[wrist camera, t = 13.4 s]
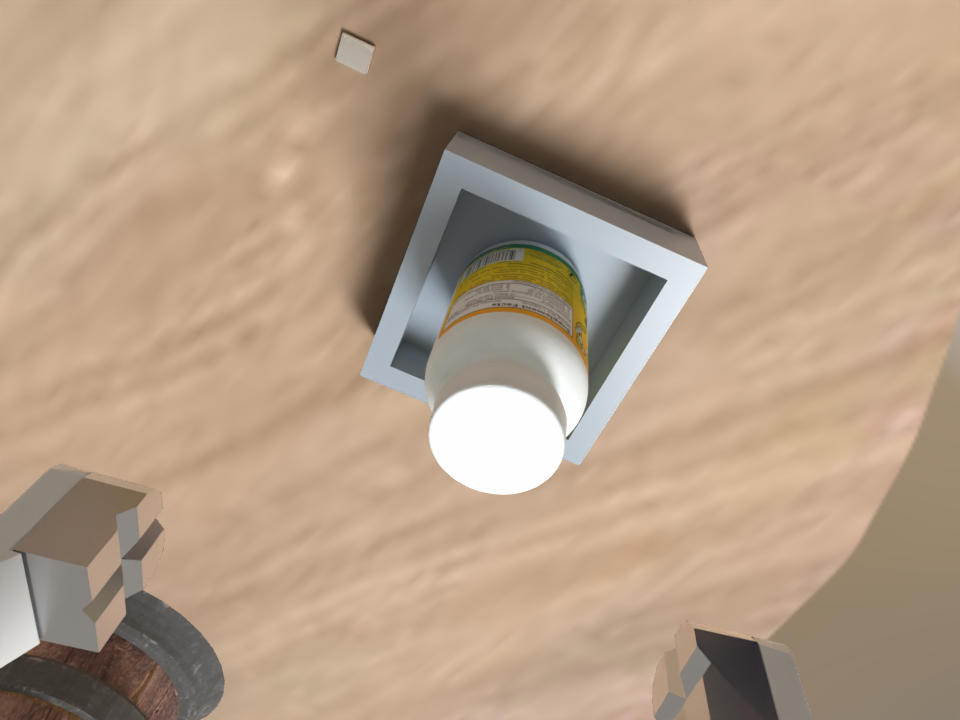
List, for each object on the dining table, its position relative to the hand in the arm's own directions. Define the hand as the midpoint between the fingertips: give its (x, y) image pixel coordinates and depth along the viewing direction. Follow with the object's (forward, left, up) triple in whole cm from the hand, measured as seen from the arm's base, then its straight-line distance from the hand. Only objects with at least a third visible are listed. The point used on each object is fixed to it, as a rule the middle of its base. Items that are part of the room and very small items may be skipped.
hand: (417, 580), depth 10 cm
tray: (+2, -3, -19) cm, 19 cm away
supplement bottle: (+2, -3, -18) cm, 19 cm away
